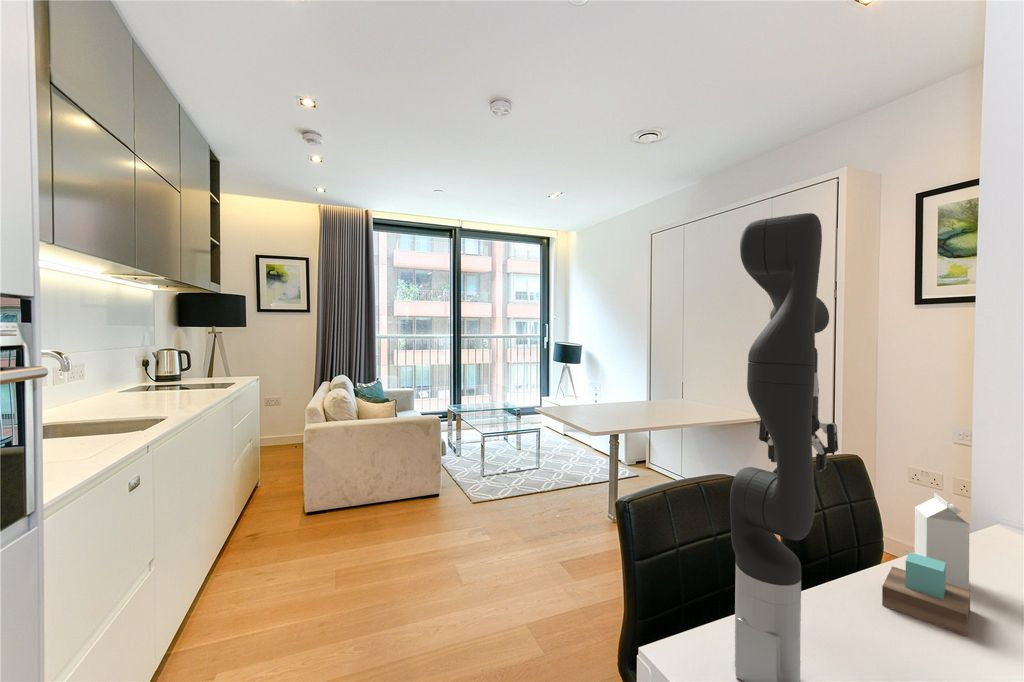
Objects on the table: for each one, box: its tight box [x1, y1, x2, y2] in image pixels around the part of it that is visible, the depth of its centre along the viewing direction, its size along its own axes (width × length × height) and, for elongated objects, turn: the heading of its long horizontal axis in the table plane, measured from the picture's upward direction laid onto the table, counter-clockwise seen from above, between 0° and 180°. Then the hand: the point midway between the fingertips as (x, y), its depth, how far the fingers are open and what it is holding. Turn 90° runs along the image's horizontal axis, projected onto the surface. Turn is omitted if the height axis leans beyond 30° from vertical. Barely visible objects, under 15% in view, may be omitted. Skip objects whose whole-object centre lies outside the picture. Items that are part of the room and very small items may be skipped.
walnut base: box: [881, 566, 971, 637], centre depth 87 cm, size 12×12×4 cm
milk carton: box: [914, 492, 970, 590], centre depth 97 cm, size 7×7×19 cm
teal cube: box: [905, 551, 946, 599], centre depth 87 cm, size 6×6×6 cm
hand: (796, 466), depth 92 cm, fingers open, 8 cm apart
